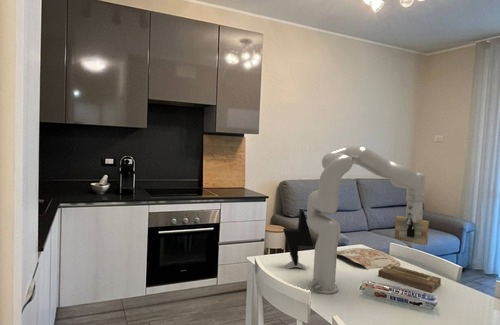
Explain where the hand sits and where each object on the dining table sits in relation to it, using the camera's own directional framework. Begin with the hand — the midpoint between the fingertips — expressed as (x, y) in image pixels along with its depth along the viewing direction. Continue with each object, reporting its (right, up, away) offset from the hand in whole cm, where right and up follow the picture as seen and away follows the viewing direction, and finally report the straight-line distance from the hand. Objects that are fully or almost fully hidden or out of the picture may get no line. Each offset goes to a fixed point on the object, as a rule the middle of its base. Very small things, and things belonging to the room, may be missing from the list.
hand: (412, 235), depth 160 cm
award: (-54, -19, +11) cm, 58 cm away
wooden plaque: (0, -3, 0) cm, 3 cm away
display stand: (-1, -22, +1) cm, 22 cm away
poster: (-13, -21, +29) cm, 38 cm away
